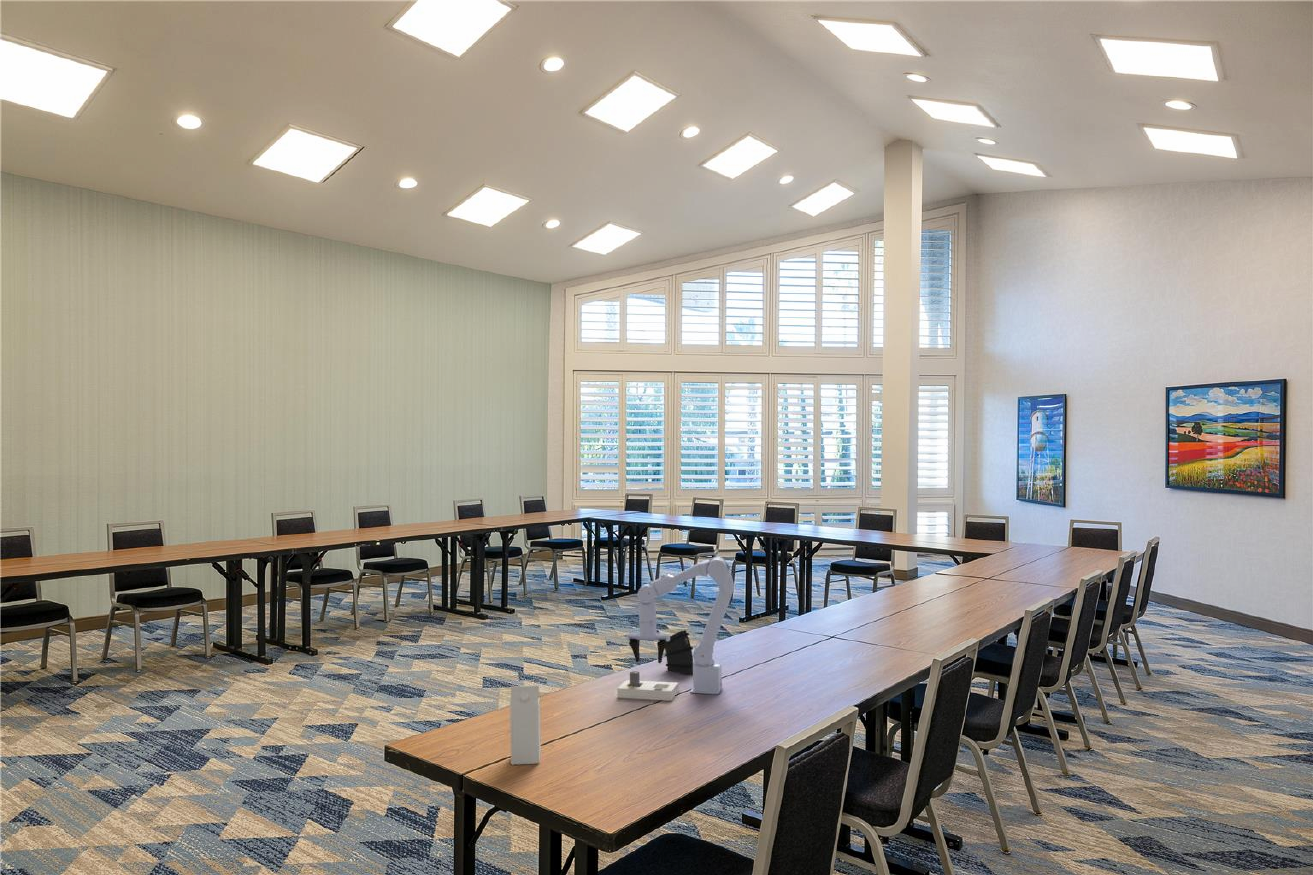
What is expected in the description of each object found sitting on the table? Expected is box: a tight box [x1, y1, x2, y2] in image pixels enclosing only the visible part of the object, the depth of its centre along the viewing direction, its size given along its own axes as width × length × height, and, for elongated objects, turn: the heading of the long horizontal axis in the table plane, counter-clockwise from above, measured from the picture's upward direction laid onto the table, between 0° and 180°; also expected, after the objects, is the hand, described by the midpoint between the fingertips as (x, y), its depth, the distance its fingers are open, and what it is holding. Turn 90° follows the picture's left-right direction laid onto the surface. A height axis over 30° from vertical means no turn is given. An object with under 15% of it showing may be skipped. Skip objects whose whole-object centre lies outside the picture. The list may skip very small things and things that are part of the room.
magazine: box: [664, 629, 694, 676], centre depth 301 cm, size 4×13×15 cm, turn 44°
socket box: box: [616, 679, 680, 701], centre depth 273 cm, size 18×10×3 cm, turn 75°
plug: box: [629, 670, 641, 687], centre depth 274 cm, size 3×3×7 cm
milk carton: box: [509, 685, 542, 766], centre depth 217 cm, size 7×7×19 cm
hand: (648, 661), depth 279 cm, fingers open, 7 cm apart
